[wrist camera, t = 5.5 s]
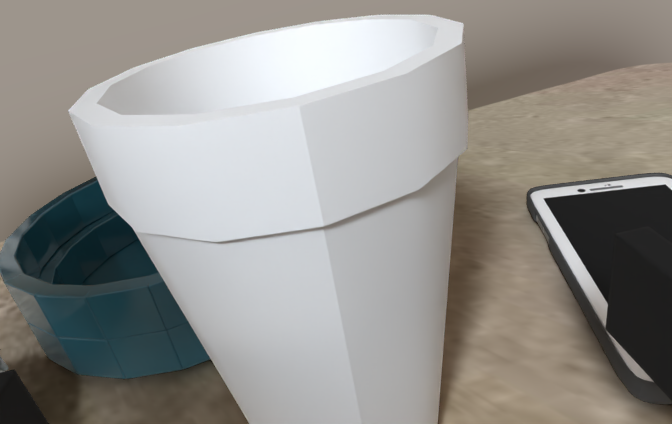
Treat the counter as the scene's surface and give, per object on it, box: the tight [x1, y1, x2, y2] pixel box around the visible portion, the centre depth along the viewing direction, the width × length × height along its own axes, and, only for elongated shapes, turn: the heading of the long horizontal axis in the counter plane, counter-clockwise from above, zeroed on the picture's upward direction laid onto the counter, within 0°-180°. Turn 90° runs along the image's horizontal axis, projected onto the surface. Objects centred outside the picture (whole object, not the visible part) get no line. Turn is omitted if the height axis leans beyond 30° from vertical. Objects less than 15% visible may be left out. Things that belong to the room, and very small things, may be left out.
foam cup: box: [68, 15, 468, 424], centre depth 16 cm, size 10×9×13 cm
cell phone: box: [527, 173, 672, 404], centre depth 23 cm, size 8×15×1 cm, turn 176°
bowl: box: [0, 177, 210, 379], centre depth 28 cm, size 16×16×5 cm
